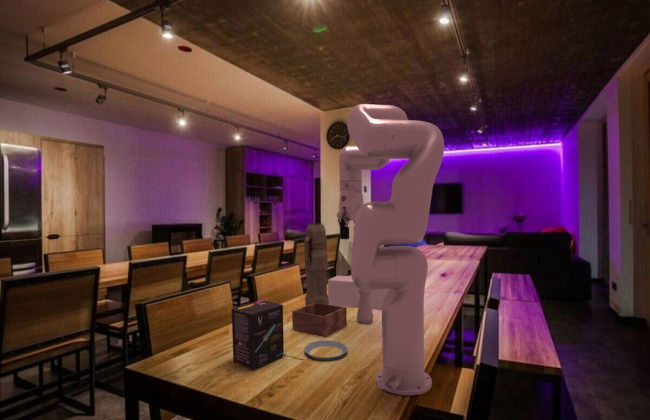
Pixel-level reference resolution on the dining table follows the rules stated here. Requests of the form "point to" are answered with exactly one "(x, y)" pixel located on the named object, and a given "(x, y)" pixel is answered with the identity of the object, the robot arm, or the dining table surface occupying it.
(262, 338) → the tampon box
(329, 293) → the pink rectangular block
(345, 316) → the box
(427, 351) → the dining table surface
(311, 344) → the saucer
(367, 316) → the salt shaker
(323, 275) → the thermos
